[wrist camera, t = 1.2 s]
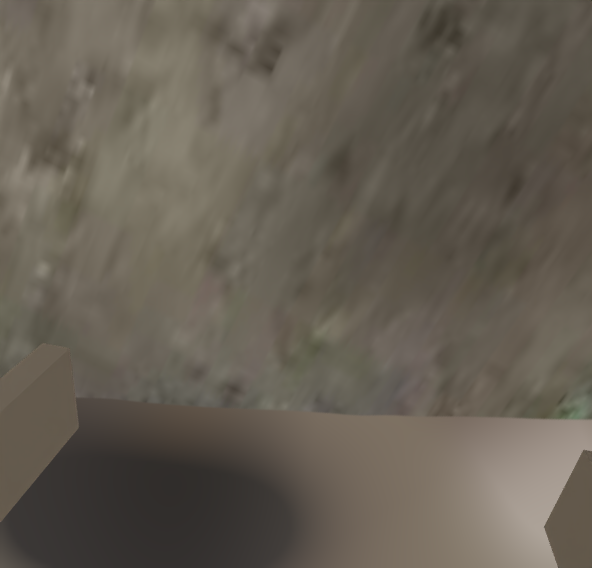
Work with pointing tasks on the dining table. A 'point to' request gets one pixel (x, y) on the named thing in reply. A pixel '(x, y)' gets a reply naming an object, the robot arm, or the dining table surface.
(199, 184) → the dining table surface
